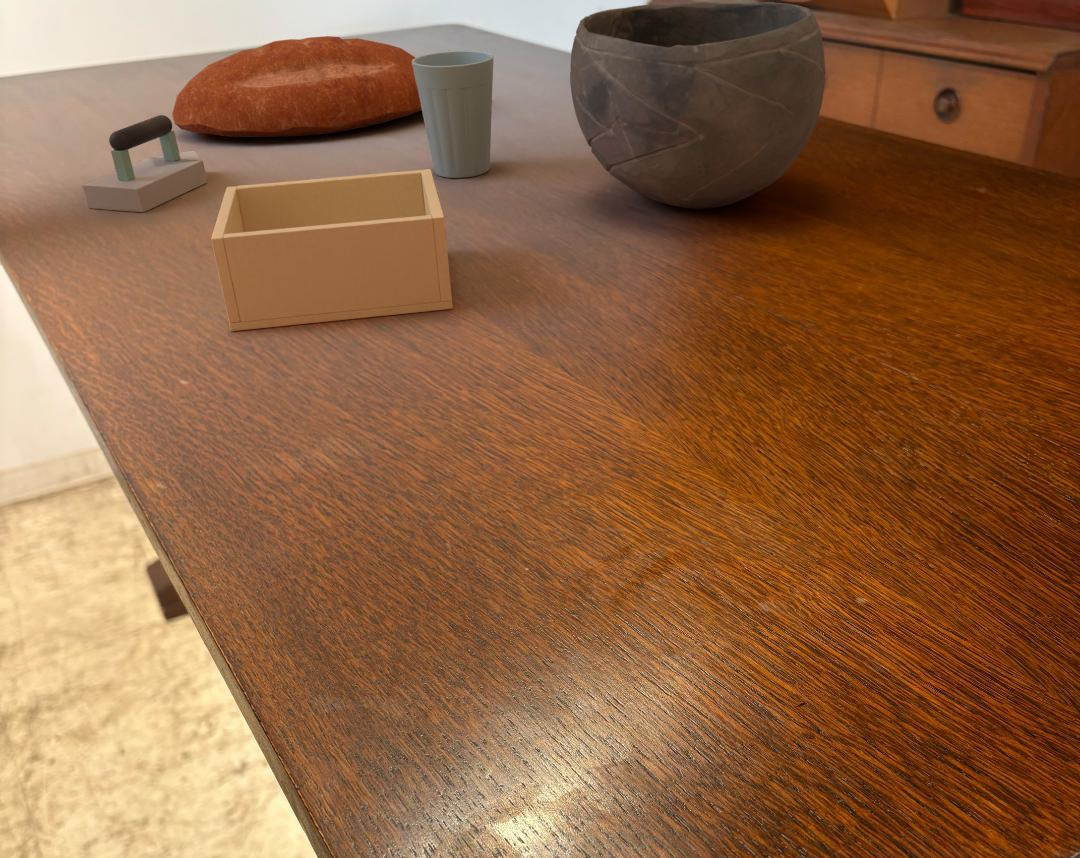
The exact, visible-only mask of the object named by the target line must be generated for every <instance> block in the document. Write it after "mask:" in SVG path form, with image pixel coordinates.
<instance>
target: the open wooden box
mask: <svg viewBox="0 0 1080 858" xmlns="http://www.w3.org/2000/svg"><path fill="white" fill-rule="evenodd" d="M441 204H442V203H441V201H440V197H439V194H438V190H437V187H436V182H435V180H434V176H433V173H432V169H431V168H425V169H416V170H415V169H414V170H405V171H392V172H381V173H380V172H379V173H369V174H358V175H346V176H335V177H325V178H323V177H321V178H313V179H302V180H301V179H300V180H288V181H278V182H277V181H276V182H267V183H257V184H256V183H255V184H246V185H245V184H244V185H243V184H242V185H237V186H235V185H234V186H226V188H225V191H224V195H223V198H222V201H221V205H220V208H219V211H218V214H217V218H216V222H215V224H214V227H213V232H212V234H211V238H210V242H211V247H212V251H213V255H214V261H215V265H216V270H217V274H218V280H219V283H220V288H221V293H222V297H223V302H224V305H225V306H224V307H225V311H226V316H227V320H228V323H229V331H230V332H237V331H248V330H259V329H269V328H278V327H286V326H297V325H298V326H299V325H308V324H316V323H327V322H336V321H347V320H355V319H356V320H357V319H367V318H373V317H374V318H376V317H386V316H395V315H396V316H397V315H406V314H416V313H426V312H434V311H435V312H436V311H445V310H453V308H454V306H453V297H452V296H453V295H452V286H451V284H452V283H451V276H450V275H451V273H450V265H449V254H448V253H449V252H448V244H447V243H448V242H447V232H446V221H445V215H444V212H443V208H442V205H441Z"/></svg>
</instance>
